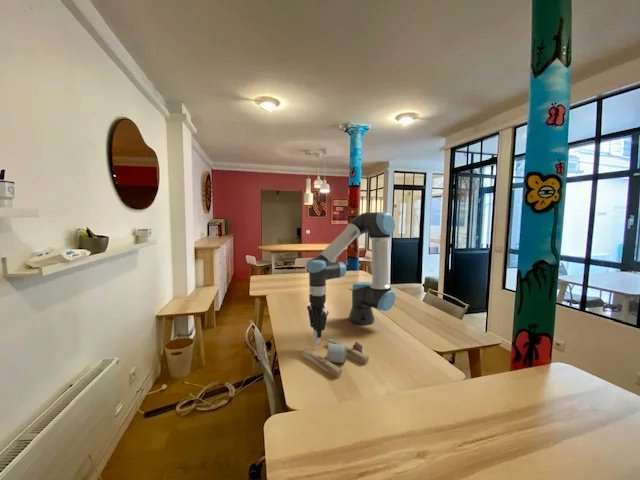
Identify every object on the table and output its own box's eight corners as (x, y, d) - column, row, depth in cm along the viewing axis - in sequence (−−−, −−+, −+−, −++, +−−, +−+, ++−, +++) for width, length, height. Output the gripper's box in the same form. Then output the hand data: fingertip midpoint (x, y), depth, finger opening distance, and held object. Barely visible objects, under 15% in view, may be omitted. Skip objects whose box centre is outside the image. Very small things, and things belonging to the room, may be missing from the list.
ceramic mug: (346, 366, 118) (346, 348, 118) (326, 365, 118) (327, 347, 118) (345, 354, 129) (345, 338, 128) (327, 354, 129) (327, 337, 128)
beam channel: (337, 342, 141) (337, 331, 140) (374, 360, 123) (374, 348, 123) (301, 355, 127) (302, 344, 126) (337, 378, 109) (338, 365, 109)
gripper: (302, 292, 133) (302, 340, 135) (320, 298, 123) (320, 350, 125) (314, 289, 138) (314, 336, 140) (333, 295, 128) (332, 345, 130)
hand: (317, 343), depth 133 cm, fingers closed
